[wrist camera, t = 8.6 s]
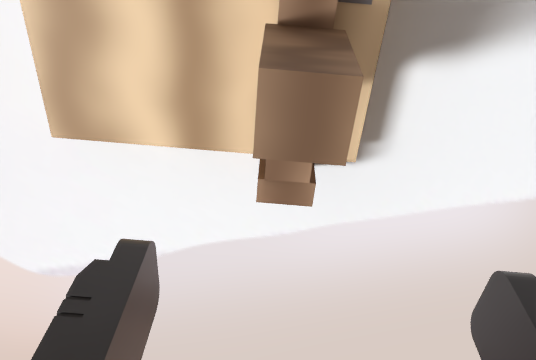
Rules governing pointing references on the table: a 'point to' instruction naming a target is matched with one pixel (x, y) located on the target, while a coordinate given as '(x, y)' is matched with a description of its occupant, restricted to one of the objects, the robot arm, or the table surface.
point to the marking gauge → (303, 100)
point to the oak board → (171, 67)
